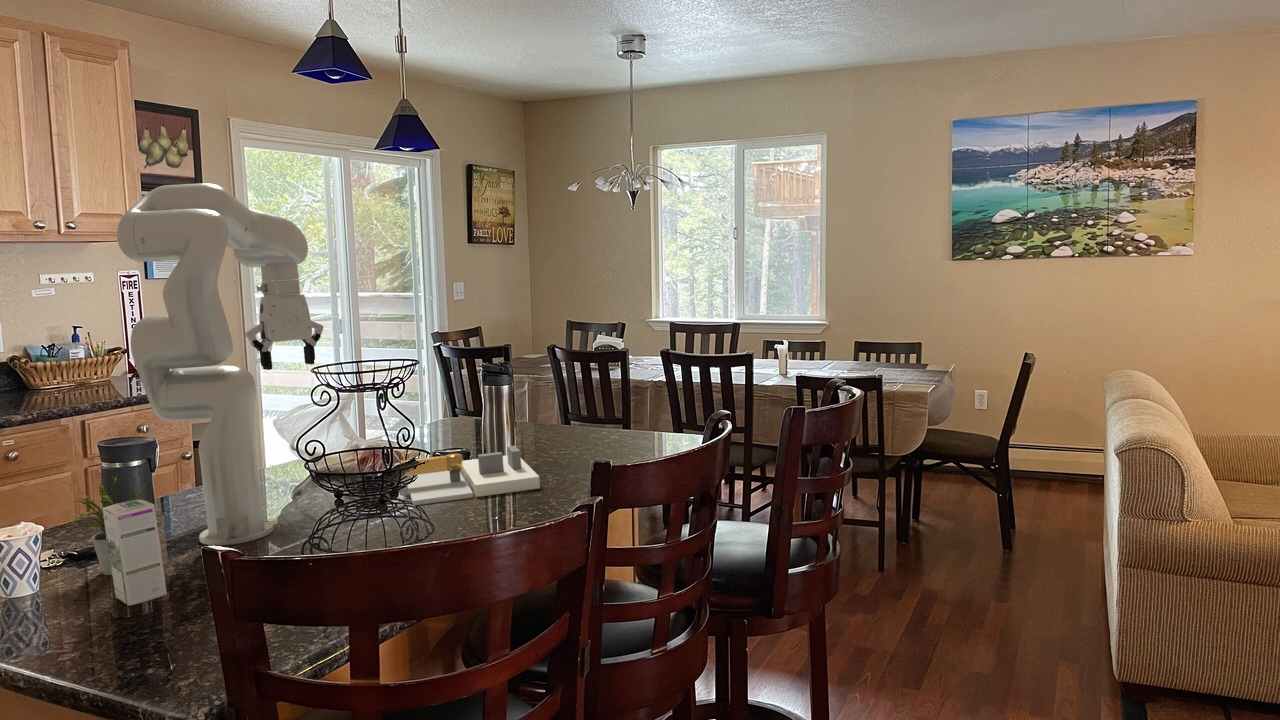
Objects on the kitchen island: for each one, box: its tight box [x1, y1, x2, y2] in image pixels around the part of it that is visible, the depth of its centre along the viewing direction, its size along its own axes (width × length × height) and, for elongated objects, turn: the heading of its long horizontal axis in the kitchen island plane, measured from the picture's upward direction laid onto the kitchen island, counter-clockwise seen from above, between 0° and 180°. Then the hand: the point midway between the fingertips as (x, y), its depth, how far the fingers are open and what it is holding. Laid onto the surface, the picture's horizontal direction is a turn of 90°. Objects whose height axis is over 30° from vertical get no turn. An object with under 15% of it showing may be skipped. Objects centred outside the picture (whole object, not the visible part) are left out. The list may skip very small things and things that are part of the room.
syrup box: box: [102, 498, 168, 606], centre depth 134 cm, size 6×6×14 cm
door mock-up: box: [406, 445, 541, 506], centre depth 192 cm, size 24×26×6 cm
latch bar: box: [400, 453, 463, 477], centre depth 190 cm, size 13×4×3 cm, turn 109°
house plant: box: [63, 473, 149, 576], centre depth 147 cm, size 14×14×16 cm
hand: (289, 366), depth 196 cm, fingers open, 9 cm apart
